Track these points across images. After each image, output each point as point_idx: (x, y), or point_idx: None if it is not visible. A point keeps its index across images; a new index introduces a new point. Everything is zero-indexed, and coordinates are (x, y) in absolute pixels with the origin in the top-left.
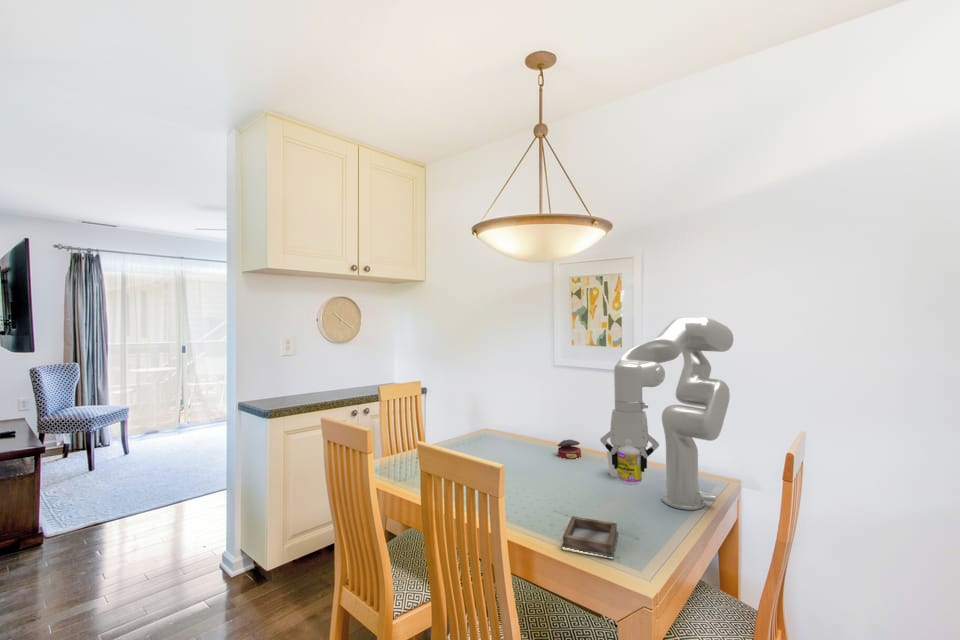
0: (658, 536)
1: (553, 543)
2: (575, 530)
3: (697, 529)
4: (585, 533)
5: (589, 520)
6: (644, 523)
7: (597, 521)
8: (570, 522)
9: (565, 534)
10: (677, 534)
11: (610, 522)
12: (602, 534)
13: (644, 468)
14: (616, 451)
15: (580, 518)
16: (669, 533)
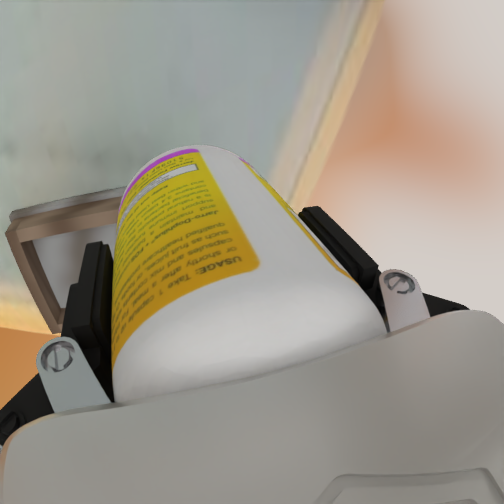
0: (255, 135)
1: (26, 299)
2: (36, 244)
3: (358, 56)
4: (64, 245)
5: (57, 231)
6: (210, 64)
7: (80, 224)
8: (22, 269)
9: (51, 325)
10: (307, 102)
11: (118, 210)
12: (105, 227)
13: (316, 208)
14: (105, 375)
15: (30, 233)
16: (286, 104)
